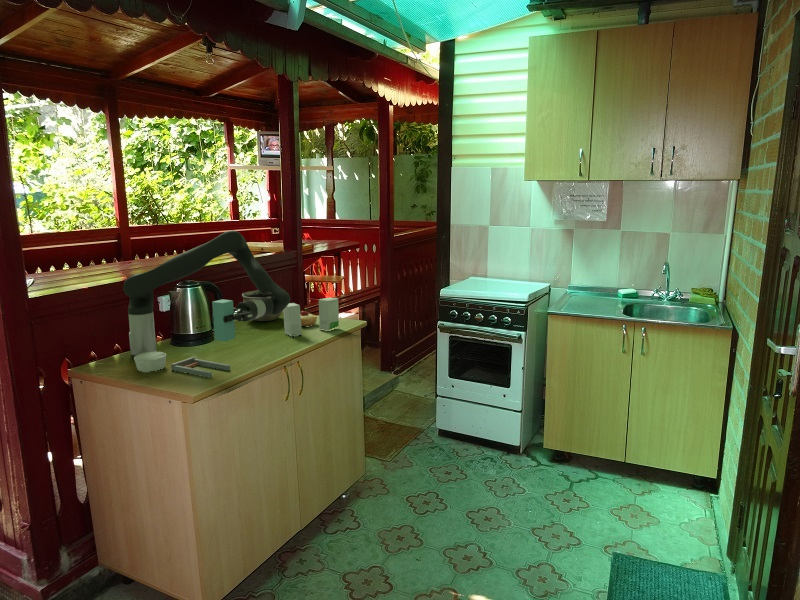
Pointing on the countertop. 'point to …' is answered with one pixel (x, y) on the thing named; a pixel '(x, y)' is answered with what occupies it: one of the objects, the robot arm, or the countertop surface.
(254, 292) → the ceramic bowl
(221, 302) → the teal block
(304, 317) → the pastry
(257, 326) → the countertop surface
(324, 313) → the skincare box
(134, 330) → the robot arm
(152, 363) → the ramekin
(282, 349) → the countertop surface
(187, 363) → the grey rectangular frame
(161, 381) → the countertop surface
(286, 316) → the skincare box
